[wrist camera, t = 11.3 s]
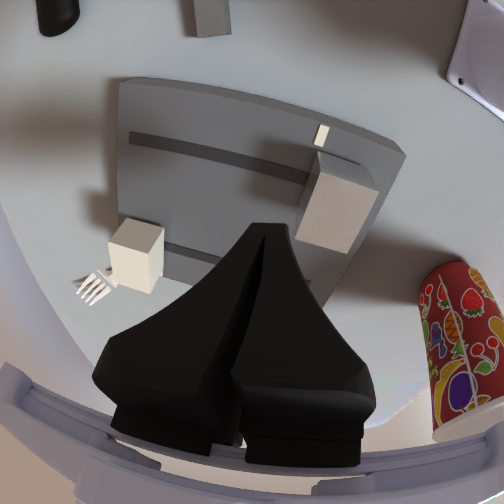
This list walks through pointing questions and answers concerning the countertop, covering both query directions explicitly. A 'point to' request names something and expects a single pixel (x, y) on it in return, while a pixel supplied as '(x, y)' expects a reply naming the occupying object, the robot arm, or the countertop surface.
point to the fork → (108, 276)
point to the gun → (67, 13)
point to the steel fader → (334, 203)
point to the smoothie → (462, 351)
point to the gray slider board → (232, 172)
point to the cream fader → (137, 254)
